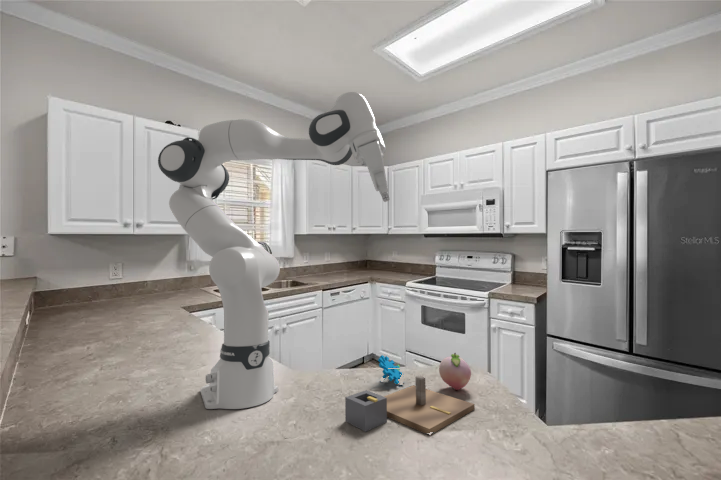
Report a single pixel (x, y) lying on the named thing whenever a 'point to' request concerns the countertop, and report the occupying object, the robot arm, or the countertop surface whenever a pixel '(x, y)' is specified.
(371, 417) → the square tunnel box
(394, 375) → the gear
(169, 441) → the countertop surface
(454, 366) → the decorative fruit
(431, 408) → the brown square board
